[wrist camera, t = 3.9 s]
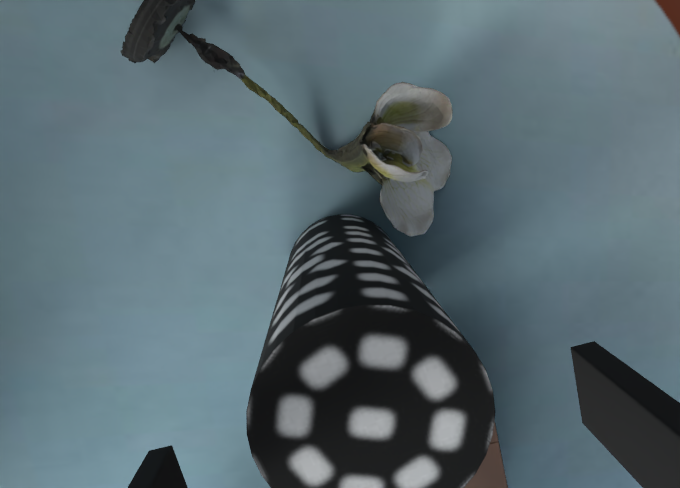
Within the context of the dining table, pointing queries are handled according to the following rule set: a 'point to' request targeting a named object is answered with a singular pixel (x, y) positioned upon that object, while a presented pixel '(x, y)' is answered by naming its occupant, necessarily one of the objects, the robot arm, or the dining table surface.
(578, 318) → the dining table surface
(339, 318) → the spotted tube
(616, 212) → the dining table surface
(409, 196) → the artificial flower
